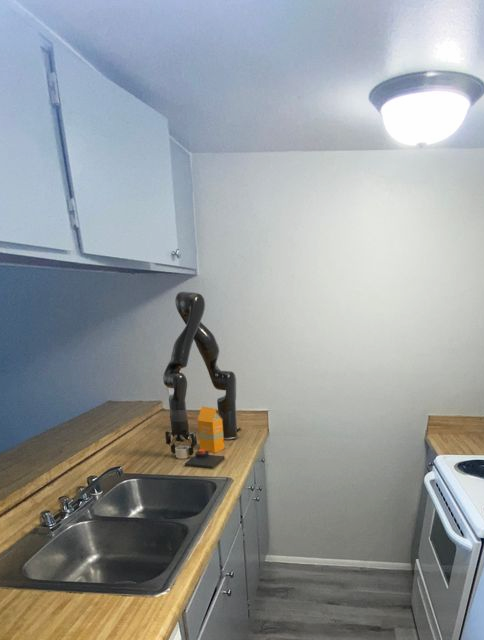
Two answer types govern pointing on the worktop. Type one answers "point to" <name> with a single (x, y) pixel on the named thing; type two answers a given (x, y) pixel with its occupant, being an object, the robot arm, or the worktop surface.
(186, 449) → the bowl
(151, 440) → the worktop surface
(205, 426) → the orange juice
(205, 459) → the scale
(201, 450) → the tare button
